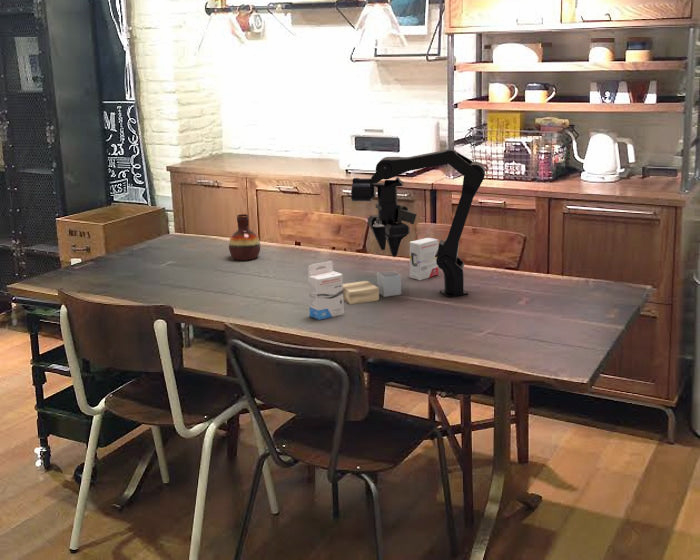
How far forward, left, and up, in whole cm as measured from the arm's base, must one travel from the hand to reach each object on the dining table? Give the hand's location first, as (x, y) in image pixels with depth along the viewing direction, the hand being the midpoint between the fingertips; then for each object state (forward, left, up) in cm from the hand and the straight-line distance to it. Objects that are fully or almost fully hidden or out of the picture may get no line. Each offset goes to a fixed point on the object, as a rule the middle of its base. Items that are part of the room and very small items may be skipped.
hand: (388, 253), depth 260 cm
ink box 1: (-13, +24, -12) cm, 30 cm away
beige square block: (-2, +10, -12) cm, 16 cm away
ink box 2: (+11, -17, -12) cm, 24 cm away
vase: (+62, +29, -12) cm, 70 cm away
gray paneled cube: (-1, 0, -12) cm, 12 cm away
